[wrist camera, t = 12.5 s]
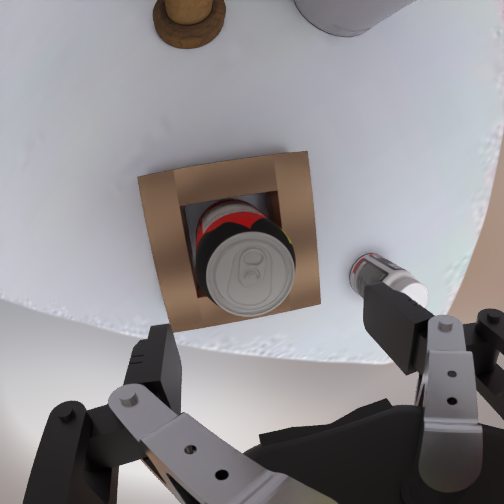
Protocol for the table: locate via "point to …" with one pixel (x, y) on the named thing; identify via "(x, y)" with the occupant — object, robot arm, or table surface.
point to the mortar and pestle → (188, 21)
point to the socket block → (218, 187)
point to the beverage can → (243, 259)
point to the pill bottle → (386, 277)
